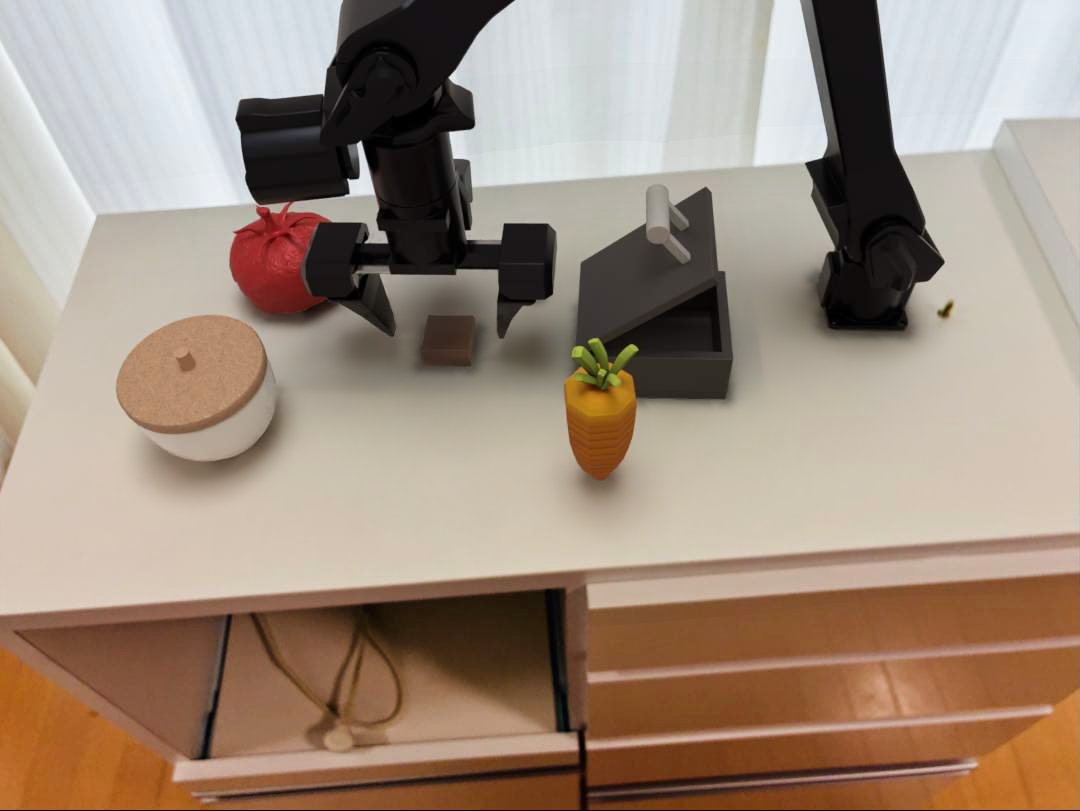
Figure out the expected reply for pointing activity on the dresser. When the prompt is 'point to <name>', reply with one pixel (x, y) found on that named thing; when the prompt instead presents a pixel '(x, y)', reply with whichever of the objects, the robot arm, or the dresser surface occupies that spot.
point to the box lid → (649, 267)
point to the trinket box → (199, 387)
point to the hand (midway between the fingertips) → (447, 334)
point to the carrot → (600, 409)
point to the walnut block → (449, 340)
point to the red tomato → (274, 260)
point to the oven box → (681, 349)
